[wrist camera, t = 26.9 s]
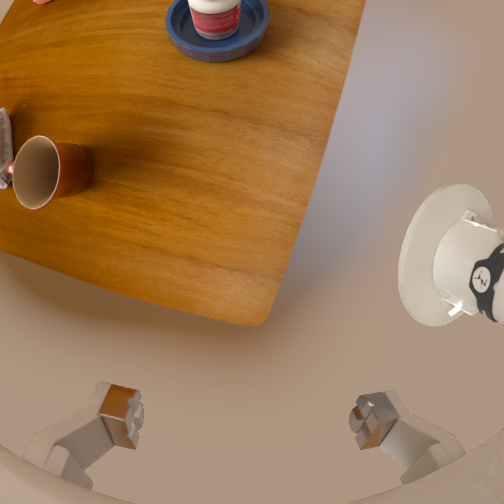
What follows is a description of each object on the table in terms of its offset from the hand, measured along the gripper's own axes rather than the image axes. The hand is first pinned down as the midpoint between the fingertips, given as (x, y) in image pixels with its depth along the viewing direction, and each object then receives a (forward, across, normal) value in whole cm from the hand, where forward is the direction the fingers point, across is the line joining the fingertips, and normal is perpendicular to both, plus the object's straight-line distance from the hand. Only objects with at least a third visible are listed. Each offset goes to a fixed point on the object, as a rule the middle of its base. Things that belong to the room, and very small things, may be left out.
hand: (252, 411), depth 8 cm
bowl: (+29, +6, -30) cm, 42 cm away
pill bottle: (+29, +6, -30) cm, 42 cm away
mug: (+29, +26, -8) cm, 40 cm away
